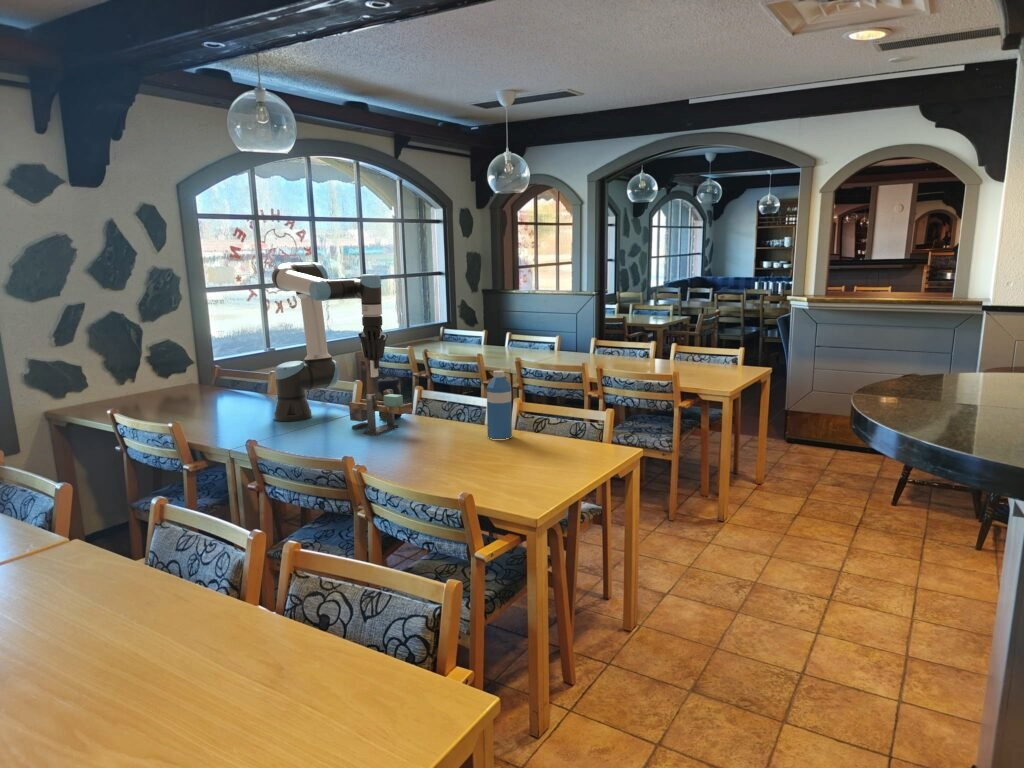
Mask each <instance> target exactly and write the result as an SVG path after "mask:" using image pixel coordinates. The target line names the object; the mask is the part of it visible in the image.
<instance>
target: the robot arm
mask: <svg viewBox="0 0 1024 768" xmlns="http://www.w3.org/2000/svg"><path fill="white" fill-rule="evenodd" d="M273 269H274V270H273V271H272V272H271V273H272V274H271V282H272V284H273V285H274V286H275V288H277V289H278V290H280V291H284V292H295V293H296V294H295V295H296V297H298V298H299V300H300V304H301V307H300V308H301V314H302V321H303V328H304V329H303V331H304V338H305V346H306V353H307V354H306V356H305V357H304V359H303V361H301V360H293V361H292V360H291V361H286V362H283V363H280V364H278V365H277V366H276V367H275V369H274V379H275V388H276V403H275V404H276V405H275V411H274V413H273V418H274V420H275V421H276V422H277V421H279V422H296V421H297V422H298V421H303V420H307V419H310V418H311V417H312V409H311V407H310V404H309V402H308V400H307V392H308V391H313V390H321V389H327V388H331V387H334V386H335V385H337V383H338V381H339V378H340V366H339V365H338V362H337V361H336V360H334V359H333V356H332V355H331V354H330V353H329V352H328V351H329V350H328V341H327V333H326V326H325V318H324V317H325V316H324V309H323V302H325V301H333V300H334V301H335V300H351V299H353V300H354V299H357V300H358V299H359V300H360V301H361V315H362V317H361V325H362V326H363V329H362V331H361V332H358V334H357V335H358V337H359V340H360V343H361V347H362V352H363V356H364V359H367V360H368V367H369V369H370V370H369V371H370V378H376V377H377V378H378V377H379V368H380V360H382V359H384V354H385V348H386V342H387V339H388V337H389V336H388V334H385V333H384V332H383V329H382V326H383V316H382V315H383V307H382V306H383V305H382V303H383V302H382V282H381V275H379V274H375V273H374V274H373V273H372V274H371V273H368V274H365V273H364V274H361V275H360V278H355V277H352V278H351V277H350V278H344V279H343V278H342V279H329V275H328V271H327V270H326V268H325V267H324V265H323V264H321V263H319V262H312V261H308V262H306V261H305V262H284V263H281V264H279V265H278V266H276V267H274V268H273Z"/></svg>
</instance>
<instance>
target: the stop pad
mask: <svg viewBox="0 0 1024 768" xmlns="http://www.w3.org/2000/svg"><path fill="white" fill-rule="evenodd" d="M367 426H368V422H367V421H366V422H365V421H363V422H359V423H357V424H354V425H351V430H357V431H358V430H362V429H365V428H368V427H367Z"/></svg>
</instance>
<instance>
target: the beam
mask: <svg viewBox="0 0 1024 768" xmlns="http://www.w3.org/2000/svg"><path fill="white" fill-rule="evenodd" d="M388 394H389V392H388V391H383V395H384V396H385V395H388ZM372 395H374V400H375V412H378V413H379V412H386V413H394V414H402V415H403V414H407V413H411V412H413V411H414V405H413V404H414V403H413V402H408V403H403V405H402V406H399V408H396V407H387V406H384V402H382V401H378V396H377V393H373V394H372ZM348 404H349V405H348V407H349V420H350V421H353V422H359V423H363V422H365V421H366V422H367V403H366V399H365V398H361V399H359V402H354V401H349V402H348Z"/></svg>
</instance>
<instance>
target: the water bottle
mask: <svg viewBox="0 0 1024 768" xmlns="http://www.w3.org/2000/svg"><path fill="white" fill-rule="evenodd" d="M492 373H493V374H492V376H493V377H492V378H491V380H490V381H489V383H488V384H487V386H486V409H487V410H486V414H487V416H486V417H487V419H486V420H487V421H486V422H487V426H486V427H487V438H488V437H489V438H492V439H506V438H510V437H511V436H512V434H513V433H512V432H513V431H512V430H513V429H512V426H513V425H512V419H513V418H512V417H513V416H512V415H513V414H512V384H511V383H510V382H509V380H508V379H507V378H506V376H505V370H502V369H501V370H493V371H492ZM512 437H513V436H512ZM512 437H511V438H512Z"/></svg>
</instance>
